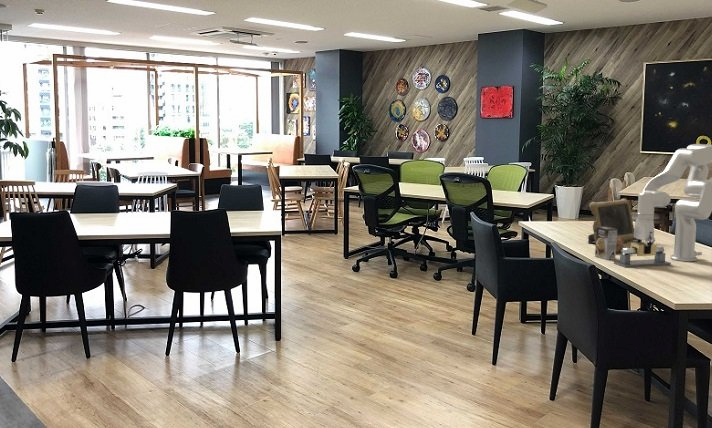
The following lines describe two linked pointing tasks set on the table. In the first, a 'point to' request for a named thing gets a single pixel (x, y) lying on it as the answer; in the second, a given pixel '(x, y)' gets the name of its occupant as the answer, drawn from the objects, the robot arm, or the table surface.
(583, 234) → the table surface
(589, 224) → the table surface
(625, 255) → the shaft rig
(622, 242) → the decorative rock
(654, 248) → the coupler
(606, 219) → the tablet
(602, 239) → the coffee box
